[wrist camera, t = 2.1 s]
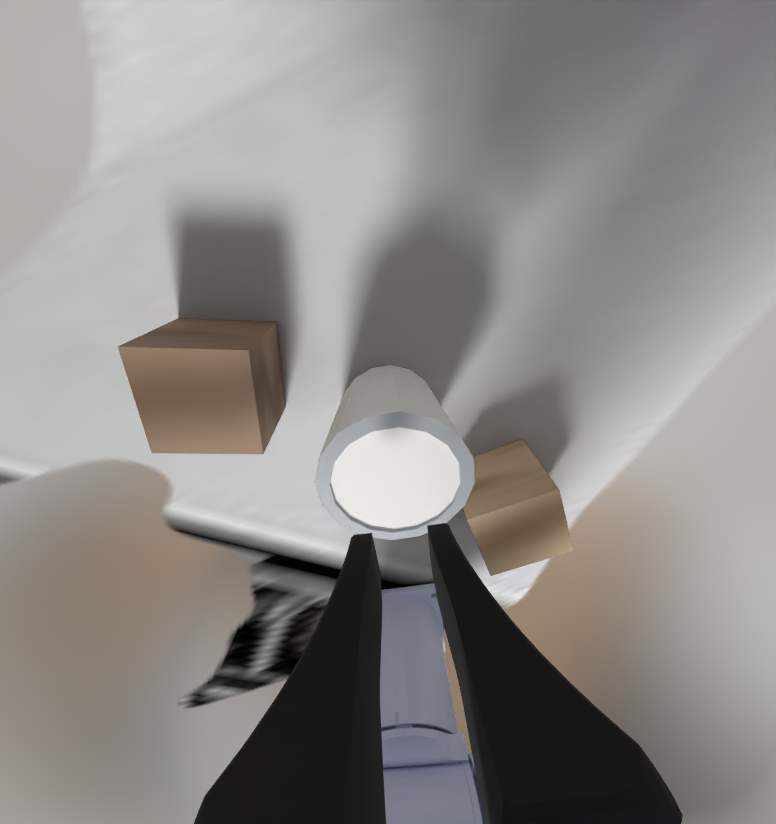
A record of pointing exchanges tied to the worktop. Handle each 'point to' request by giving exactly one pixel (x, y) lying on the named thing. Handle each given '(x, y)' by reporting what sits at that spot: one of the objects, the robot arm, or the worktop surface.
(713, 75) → the worktop surface
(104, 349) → the worktop surface
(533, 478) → the oak block
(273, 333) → the walnut block
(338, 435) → the white cup
